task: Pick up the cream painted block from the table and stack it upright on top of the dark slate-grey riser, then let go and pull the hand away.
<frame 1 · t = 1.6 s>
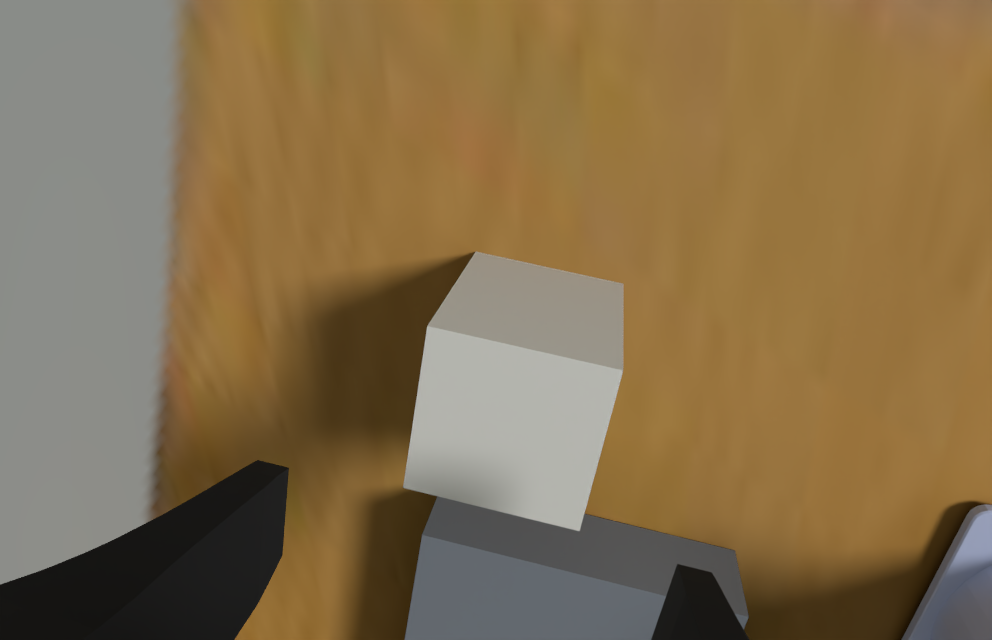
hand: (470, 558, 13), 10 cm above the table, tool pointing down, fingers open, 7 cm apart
cream block: (534, 334, 23), on the table
riser: (557, 624, 27), on the table
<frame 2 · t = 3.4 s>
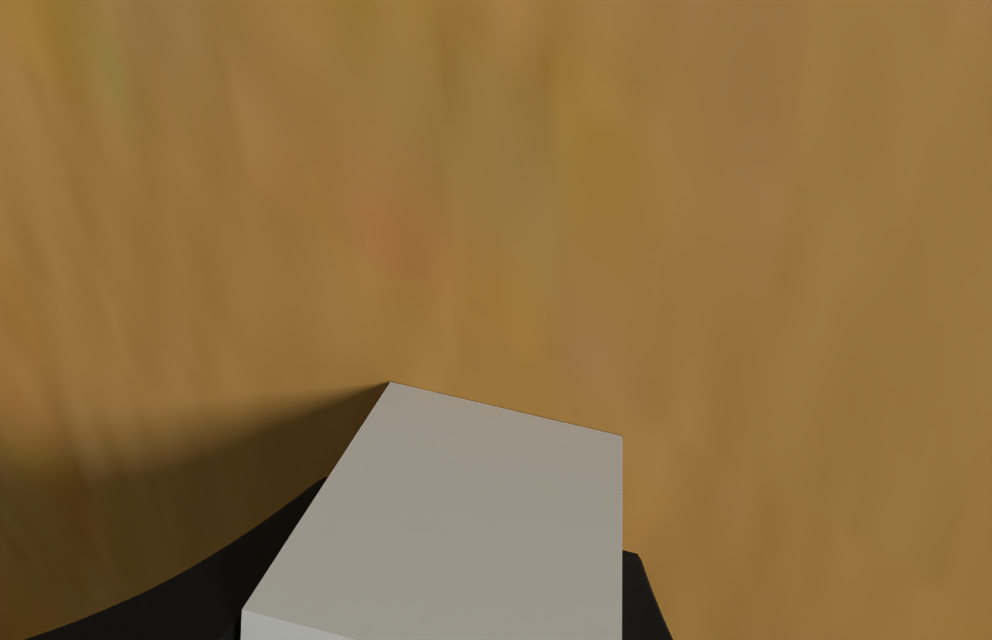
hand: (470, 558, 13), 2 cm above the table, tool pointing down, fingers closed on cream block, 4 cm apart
cream block: (485, 504, 15), on the table, touching gripper
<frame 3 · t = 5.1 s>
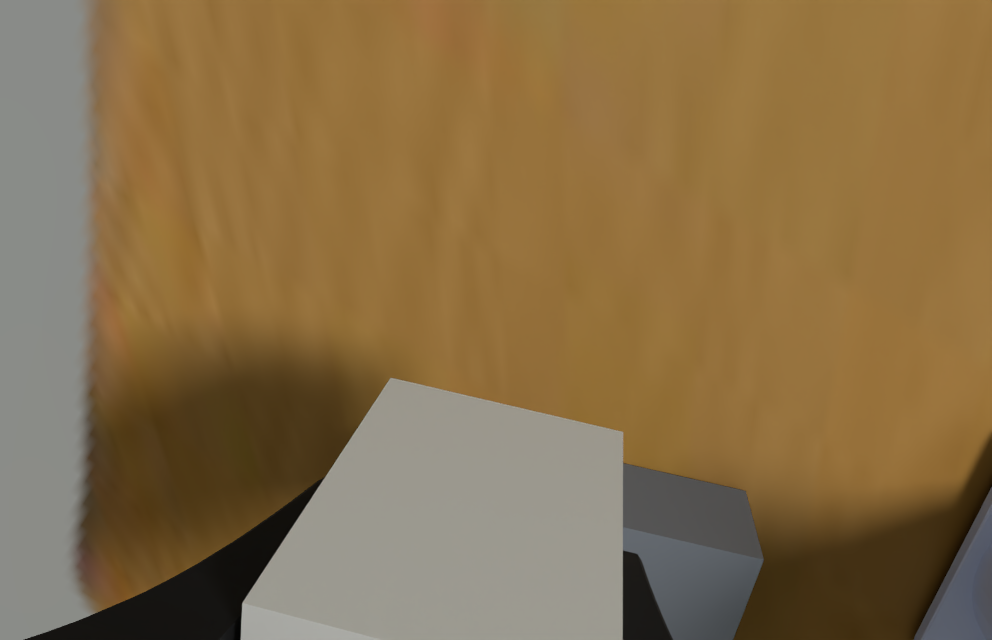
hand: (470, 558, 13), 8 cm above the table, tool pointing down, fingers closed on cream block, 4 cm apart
cream block: (485, 500, 15), point 7 cm above the table, touching gripper
riser: (544, 582, 24), on the table
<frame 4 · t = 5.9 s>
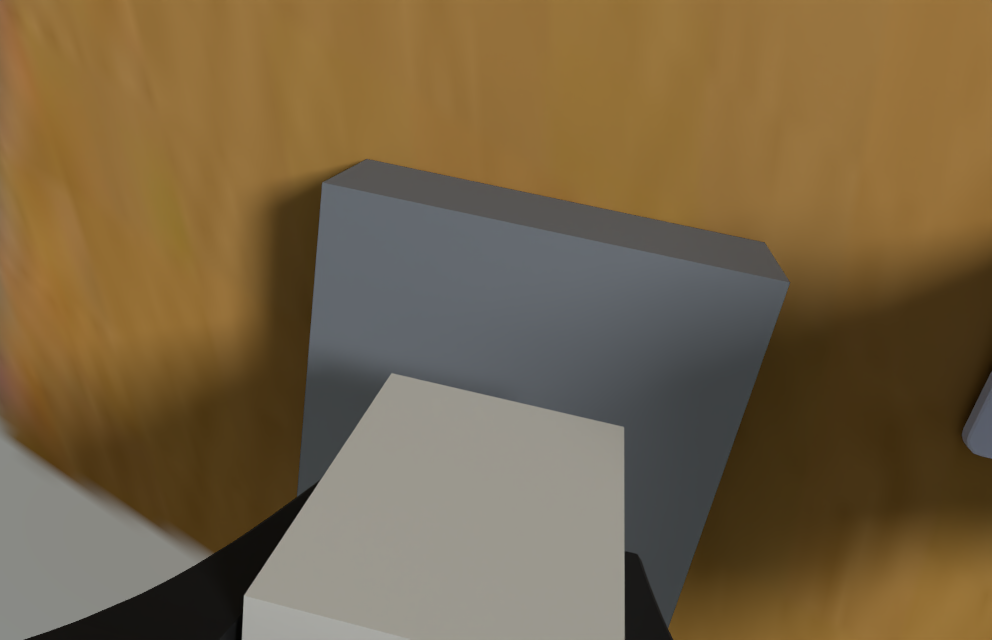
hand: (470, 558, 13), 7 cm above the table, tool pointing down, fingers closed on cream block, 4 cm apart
cream block: (486, 496, 15), point 6 cm above the table, touching gripper
riser: (523, 377, 20), on the table
when the fingers open (6 cm above the table, at t = 6.6 s): cream block drops 1 cm, resting on riser.
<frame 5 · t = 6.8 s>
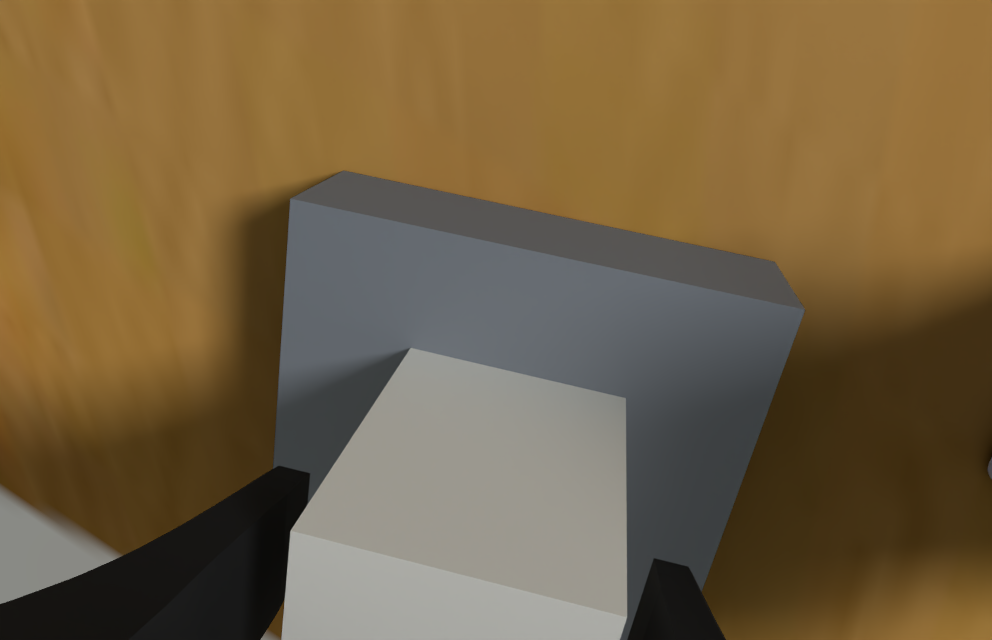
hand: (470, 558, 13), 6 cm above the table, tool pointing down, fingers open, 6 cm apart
cream block: (497, 464, 16), point 3 cm above the table, touching riser
riser: (514, 404, 19), on the table
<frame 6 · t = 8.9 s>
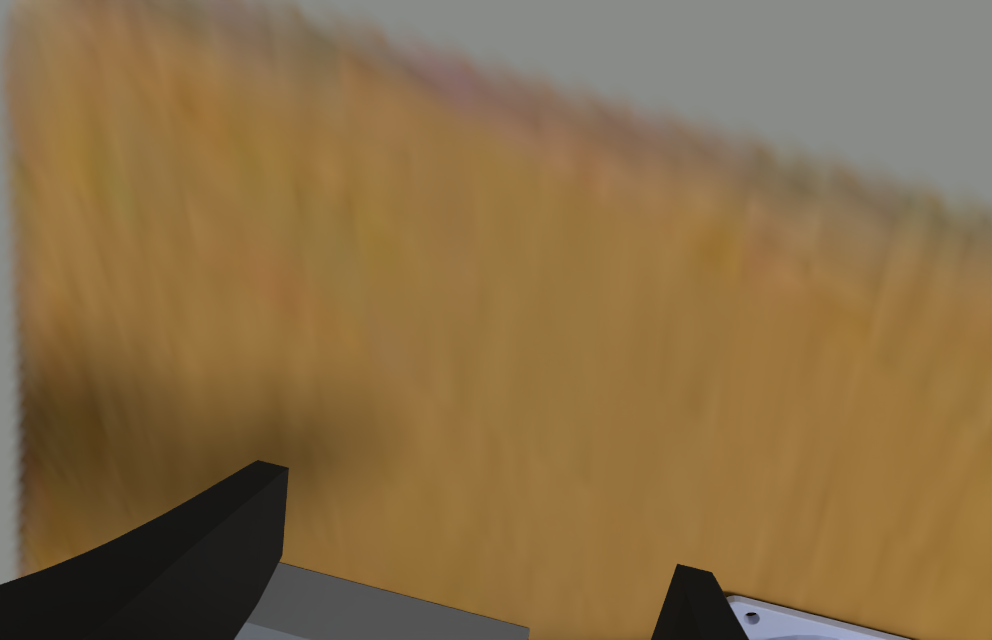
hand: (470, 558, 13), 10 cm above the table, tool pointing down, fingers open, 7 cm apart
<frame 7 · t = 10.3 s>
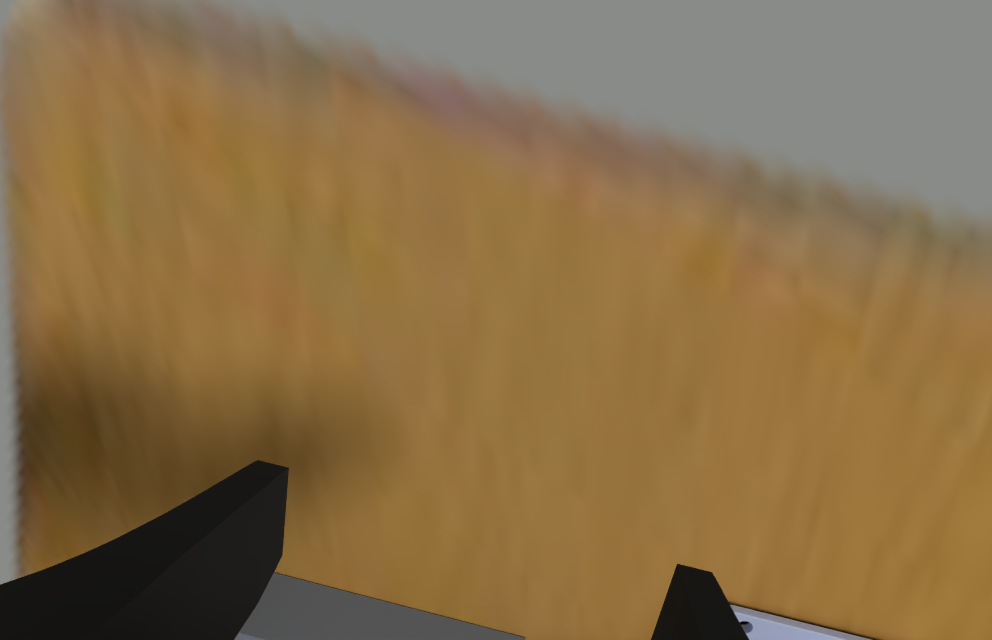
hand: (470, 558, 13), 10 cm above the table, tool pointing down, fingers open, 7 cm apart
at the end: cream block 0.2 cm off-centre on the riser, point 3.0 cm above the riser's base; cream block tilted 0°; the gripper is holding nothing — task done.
